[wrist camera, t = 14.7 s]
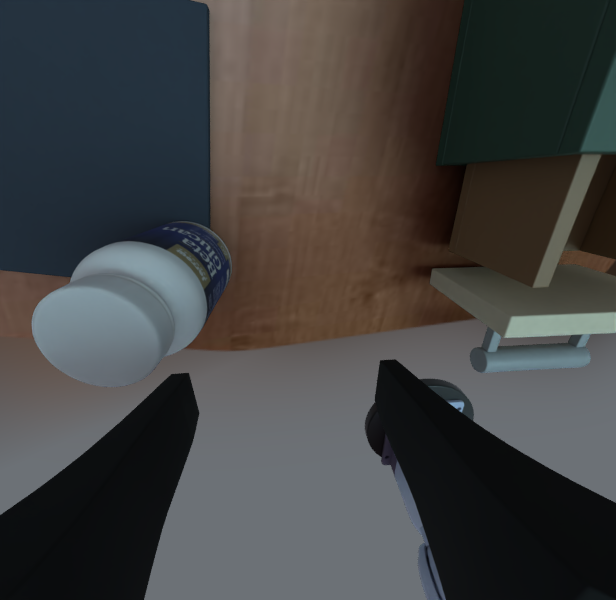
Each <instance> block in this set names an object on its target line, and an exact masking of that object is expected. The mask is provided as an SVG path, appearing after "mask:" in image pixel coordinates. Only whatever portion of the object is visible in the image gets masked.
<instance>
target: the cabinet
mask: <svg viewBox="0 0 616 600" xmlns="http://www.w3.org/2000/svg"><path fill="white" fill-rule="evenodd" d="M573 154H616V0H465V1H464V7H463V12H462V18H461V24H460V29H459V35H458V41H457V47H456V52H455V58H454V64H453V70H452V75H451V81H450V87H449V92H448V98H447V104H446V110H445V115H444V121H443V127H442V132H441V138H440V144H439V150H438V155H437V161H436V165H437V166H467V164H471V163H483V162H494V161H506V160H518V159H530V158H541V157H553V156H565V155H573Z"/></svg>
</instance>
